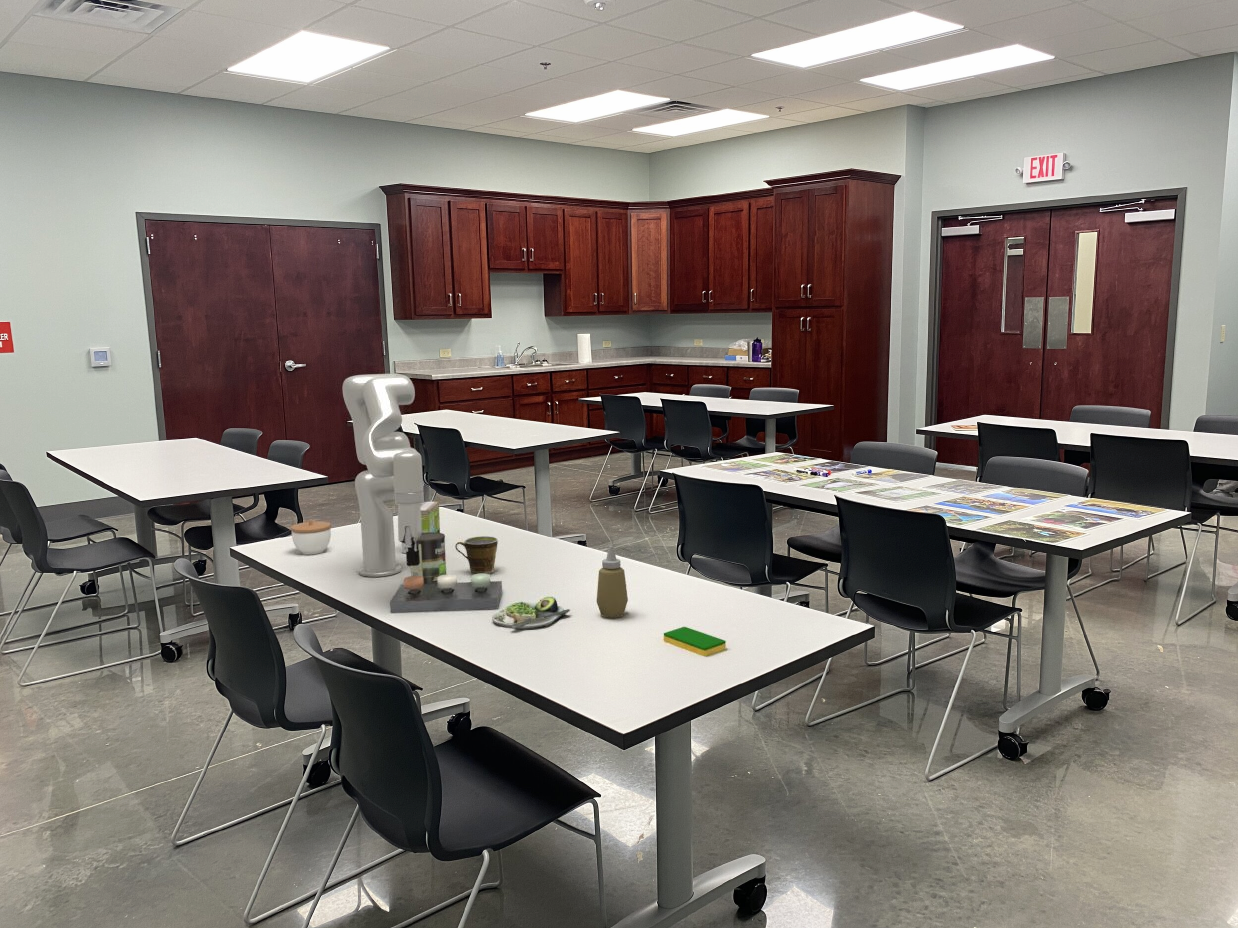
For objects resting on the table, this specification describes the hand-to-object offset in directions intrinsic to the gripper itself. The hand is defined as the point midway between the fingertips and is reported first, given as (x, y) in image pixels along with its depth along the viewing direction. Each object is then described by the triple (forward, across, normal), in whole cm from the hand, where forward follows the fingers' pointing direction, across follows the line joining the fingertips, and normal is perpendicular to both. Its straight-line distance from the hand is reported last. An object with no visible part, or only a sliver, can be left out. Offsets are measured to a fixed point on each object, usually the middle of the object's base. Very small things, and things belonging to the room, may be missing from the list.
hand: (413, 564), depth 249 cm
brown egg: (+9, 0, 0) cm, 9 cm away
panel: (+11, 0, +9) cm, 14 cm away
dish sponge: (+12, +40, +71) cm, 82 cm away
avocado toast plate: (+12, +16, +32) cm, 37 cm away
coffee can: (+11, -19, +1) cm, 22 cm away
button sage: (+9, 0, +18) cm, 20 cm away
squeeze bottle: (+11, +16, +53) cm, 56 cm away
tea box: (+10, -62, -8) cm, 64 cm away
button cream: (+9, 0, +9) cm, 13 cm away
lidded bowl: (+10, -62, -44) cm, 76 cm away
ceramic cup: (+11, -29, +14) cm, 34 cm away
